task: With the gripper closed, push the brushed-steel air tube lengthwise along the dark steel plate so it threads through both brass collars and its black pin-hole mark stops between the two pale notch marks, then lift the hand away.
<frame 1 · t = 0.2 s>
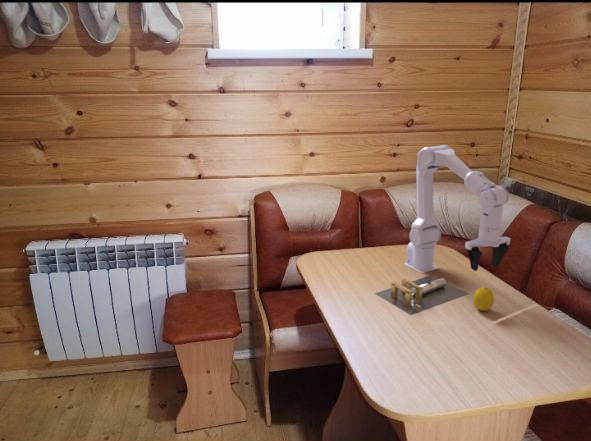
hand: (484, 268, 146), 10 cm above the table, tool pointing down, fingers open, 7 cm apart
air tube: (428, 291, 152), point 1 cm above the table, touching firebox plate
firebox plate: (421, 295, 151), on the table
lemon: (482, 312, 140), on the table
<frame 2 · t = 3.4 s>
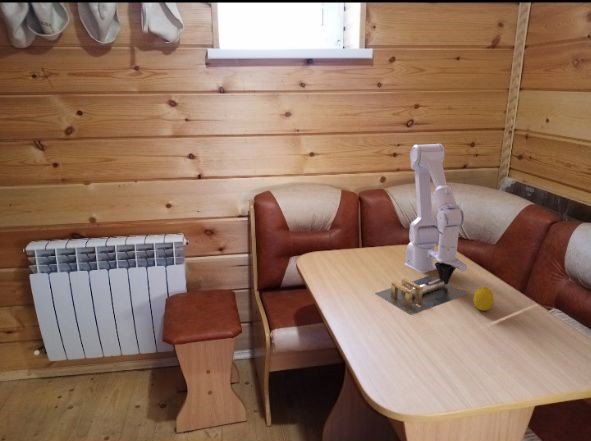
hand: (444, 283, 155), 1 cm above the table, tool pointing down, fingers closed, pressing on air tube
air tube: (426, 291, 151), point 1 cm above the table, touching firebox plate, gripper
everything else where it was.
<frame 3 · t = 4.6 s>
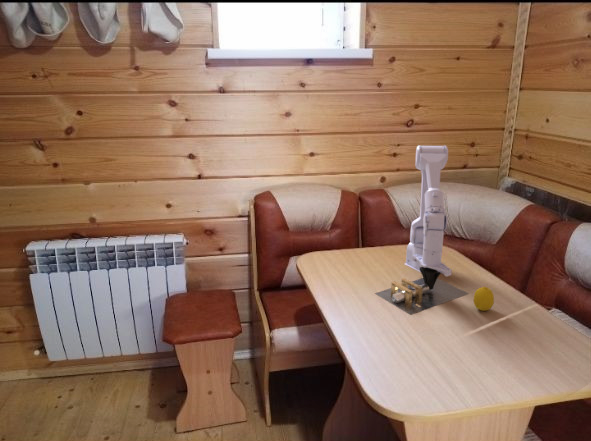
hand: (429, 288, 152), 1 cm above the table, tool pointing down, fingers closed, pressing on air tube
air tube: (410, 297, 148), point 1 cm above the table, touching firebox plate, gripper
everything else where it was.
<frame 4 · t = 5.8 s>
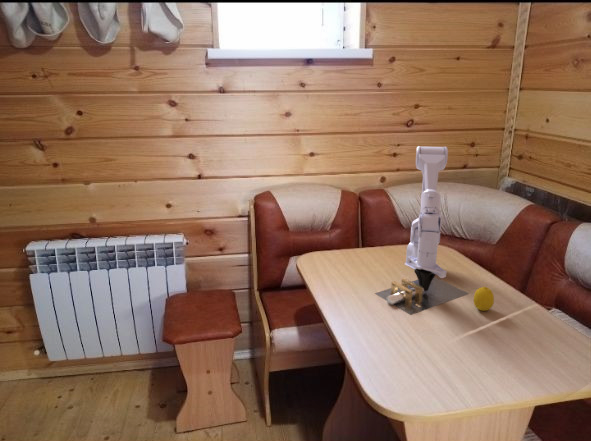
hand: (424, 290, 151), 1 cm above the table, tool pointing down, fingers closed
air tube: (405, 299, 147), point 1 cm above the table, touching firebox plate
everything else where it was.
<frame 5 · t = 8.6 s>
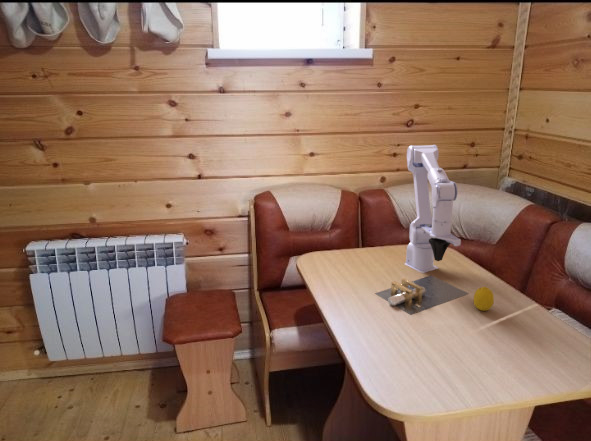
hand: (438, 260, 153), 9 cm above the table, tool pointing down, fingers closed
air tube: (405, 298, 147), point 1 cm above the table, tilted 36°, touching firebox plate
everything else where it was.
at the end: air tube 0.5 cm from the target spot, point 0.8 cm above the table; air tube moved 10.0 cm from its start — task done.
